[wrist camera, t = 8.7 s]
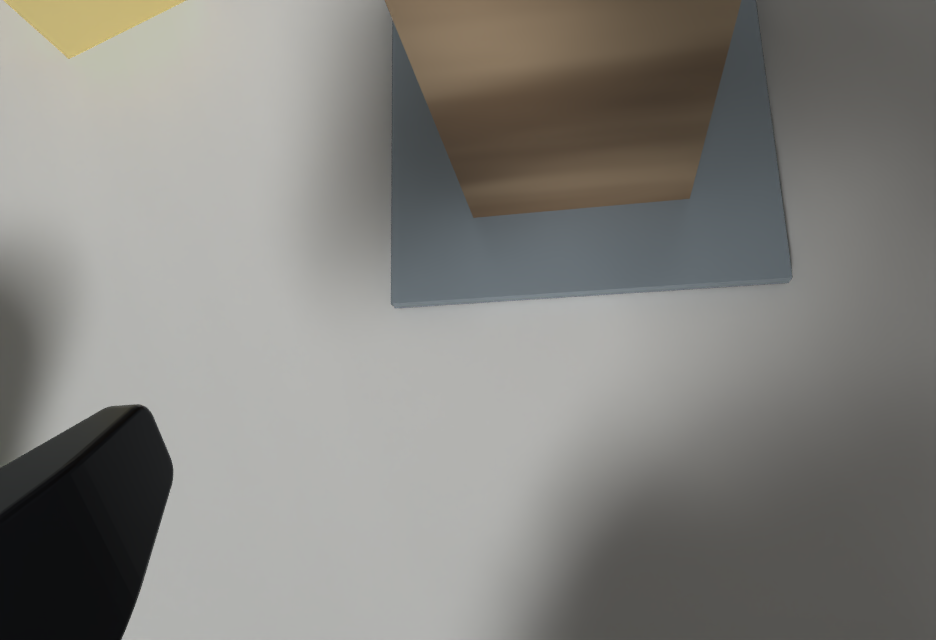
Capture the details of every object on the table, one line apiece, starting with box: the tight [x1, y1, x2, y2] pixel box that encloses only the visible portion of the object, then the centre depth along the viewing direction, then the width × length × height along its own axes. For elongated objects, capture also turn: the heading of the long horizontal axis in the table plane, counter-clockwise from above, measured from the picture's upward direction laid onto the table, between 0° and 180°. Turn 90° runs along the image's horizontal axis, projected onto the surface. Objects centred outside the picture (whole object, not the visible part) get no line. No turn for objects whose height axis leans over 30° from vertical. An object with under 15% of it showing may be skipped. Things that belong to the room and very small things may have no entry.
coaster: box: [391, 0, 792, 308], centre depth 19 cm, size 9×9×1 cm
